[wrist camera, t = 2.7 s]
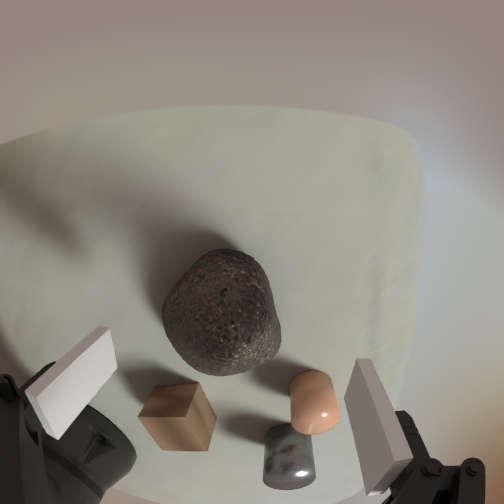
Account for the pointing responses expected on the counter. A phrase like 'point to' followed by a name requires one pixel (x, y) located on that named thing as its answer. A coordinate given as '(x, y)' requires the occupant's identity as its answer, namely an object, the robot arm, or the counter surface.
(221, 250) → the stone
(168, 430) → the walnut block
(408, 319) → the counter surface
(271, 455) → the metal tin
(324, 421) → the peach rounded capsule
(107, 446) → the robot arm
